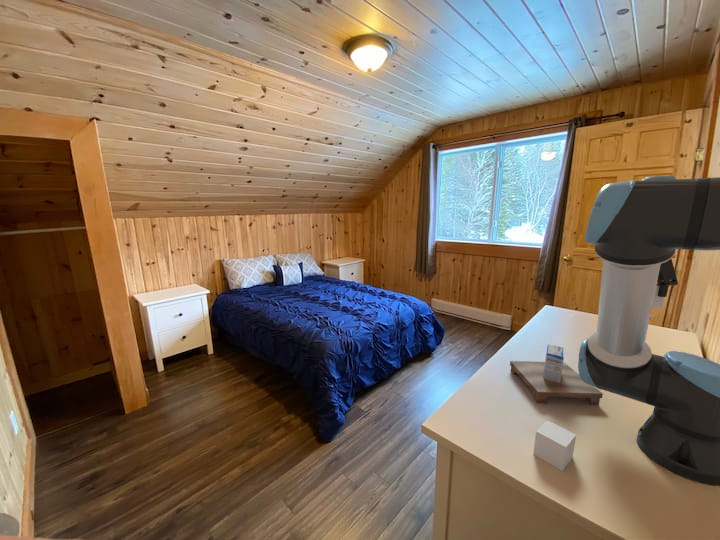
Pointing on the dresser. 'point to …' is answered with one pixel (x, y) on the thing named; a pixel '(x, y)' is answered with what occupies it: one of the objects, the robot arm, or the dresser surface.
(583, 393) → the walnut stand
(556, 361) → the medicine box
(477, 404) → the dresser surface
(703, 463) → the robot arm
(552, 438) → the white cube
